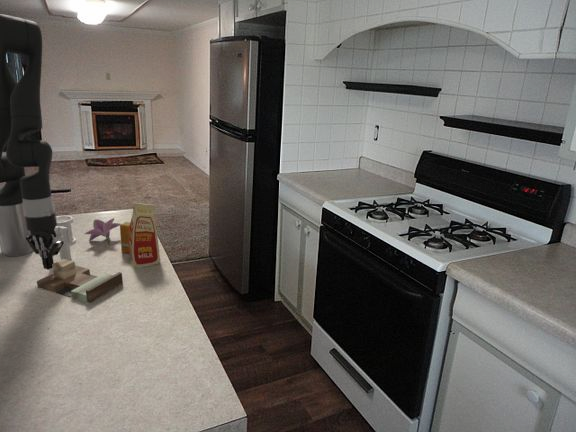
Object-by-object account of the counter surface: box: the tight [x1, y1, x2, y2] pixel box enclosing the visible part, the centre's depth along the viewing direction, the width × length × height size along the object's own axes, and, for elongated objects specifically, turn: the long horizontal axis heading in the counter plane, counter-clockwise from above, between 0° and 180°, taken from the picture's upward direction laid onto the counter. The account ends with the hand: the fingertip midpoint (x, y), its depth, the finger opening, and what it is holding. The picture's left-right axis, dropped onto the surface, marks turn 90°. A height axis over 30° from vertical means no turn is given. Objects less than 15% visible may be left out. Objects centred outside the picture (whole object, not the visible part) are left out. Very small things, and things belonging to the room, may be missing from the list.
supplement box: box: [119, 221, 131, 254], centre depth 144 cm, size 3×3×10 cm
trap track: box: [36, 265, 124, 304], centre depth 121 cm, size 20×12×4 cm, turn 67°
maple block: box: [52, 259, 76, 280], centre depth 122 cm, size 4×4×4 cm
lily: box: [84, 217, 122, 246], centre depth 151 cm, size 12×12×10 cm
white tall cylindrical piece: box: [54, 215, 77, 261], centre depth 135 cm, size 7×7×15 cm
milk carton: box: [129, 202, 161, 269], centre depth 136 cm, size 9×9×20 cm
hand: (49, 268), depth 124 cm, fingers closed
